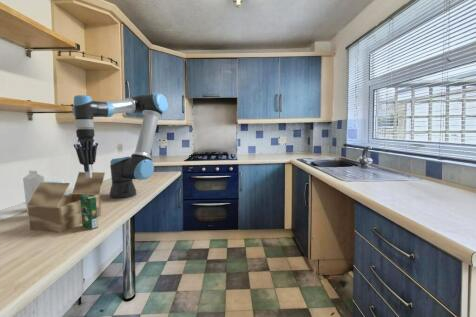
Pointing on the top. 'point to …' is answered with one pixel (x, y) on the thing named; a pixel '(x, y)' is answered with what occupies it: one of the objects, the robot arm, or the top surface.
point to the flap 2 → (89, 183)
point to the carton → (60, 214)
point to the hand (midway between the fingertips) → (88, 178)
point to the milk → (31, 185)
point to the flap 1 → (49, 194)
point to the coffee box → (89, 211)
